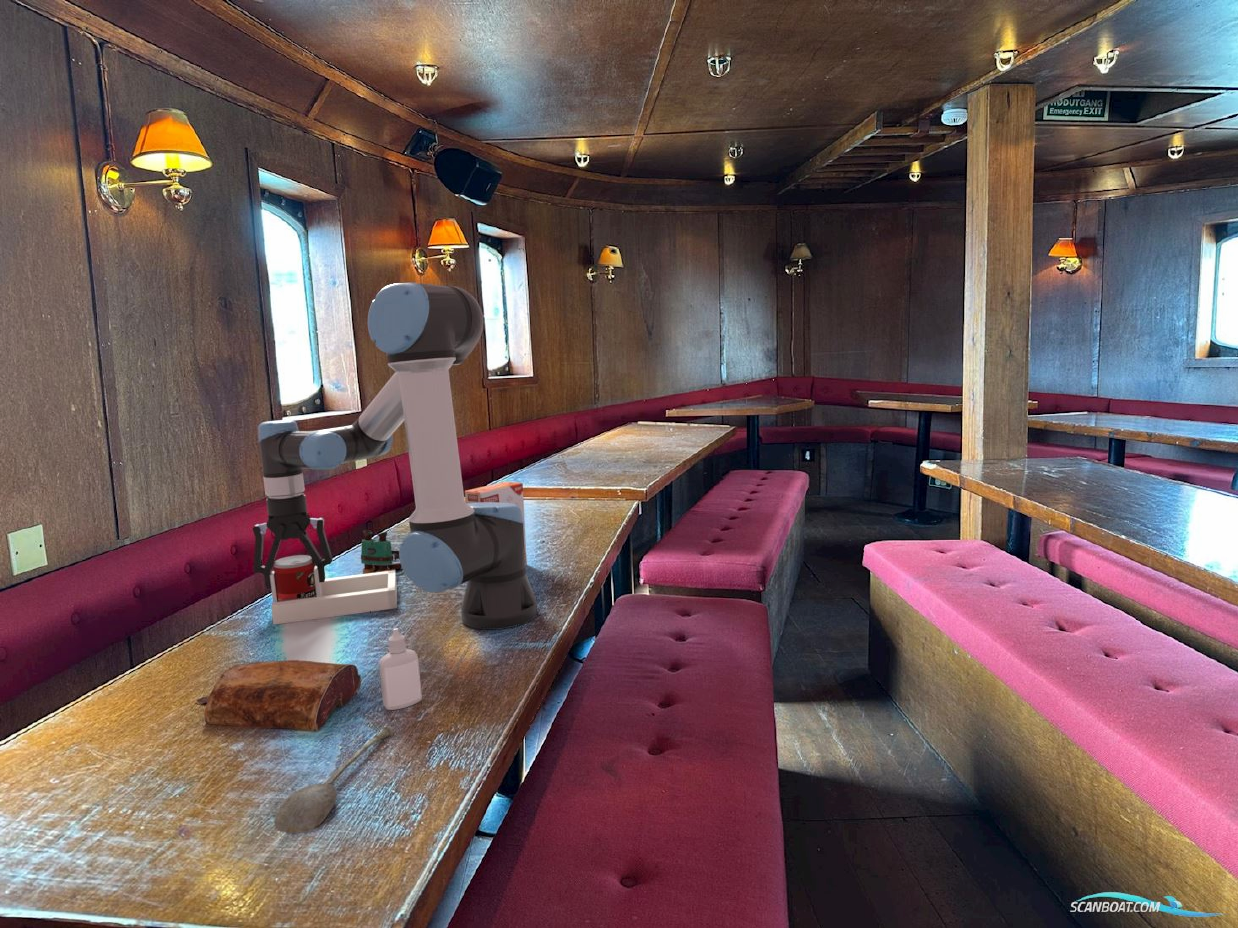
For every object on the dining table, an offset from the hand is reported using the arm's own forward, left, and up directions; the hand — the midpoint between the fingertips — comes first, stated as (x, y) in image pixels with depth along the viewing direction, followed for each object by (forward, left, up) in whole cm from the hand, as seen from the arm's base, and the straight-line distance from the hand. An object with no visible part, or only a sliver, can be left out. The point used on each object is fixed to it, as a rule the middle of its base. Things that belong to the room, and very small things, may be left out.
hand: (298, 599), depth 158 cm
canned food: (0, 0, -3) cm, 3 cm away
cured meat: (-44, -1, -3) cm, 44 cm away
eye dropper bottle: (-53, -21, -3) cm, 57 cm away
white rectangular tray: (0, -8, -2) cm, 8 cm away
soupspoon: (-71, -14, -3) cm, 73 cm away
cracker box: (+10, -44, -3) cm, 45 cm away
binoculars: (+23, -17, -3) cm, 29 cm away
